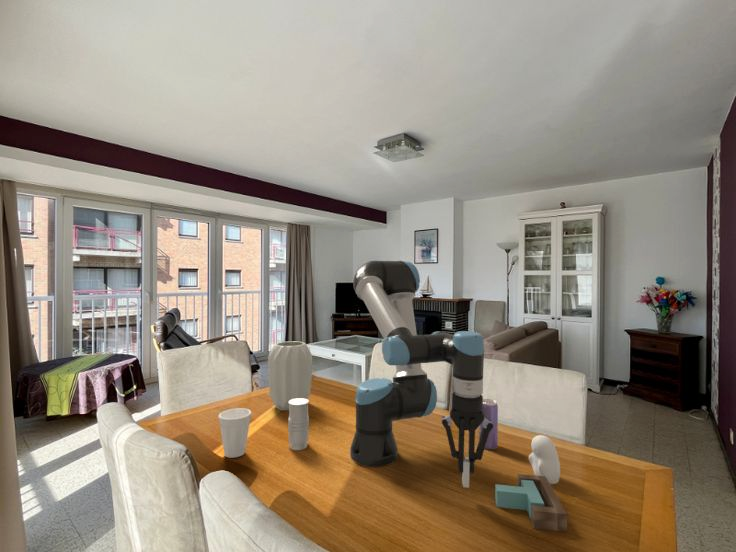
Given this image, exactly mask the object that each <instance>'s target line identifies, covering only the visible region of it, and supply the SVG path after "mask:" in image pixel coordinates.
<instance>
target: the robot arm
mask: <svg viewBox="0 0 736 552" xmlns="http://www.w3.org/2000/svg"><path fill="white" fill-rule="evenodd" d="M420 277H421V276H420V274H419V270H418V268H417V266H416V265H415V264H413V263H412V262H410V261H403V260H370V261H367V262H365V263H363V264H362V265H361V266H360V267H358V269H357V270H356V271H355V274H354V276H353V281H352V282H353V290H354V292H355V294H356V295H357V298H359V299H360V300H362V301H363V302H364V304H365V306H366V308H367V311H368V312H369V314H370V316H371V317H372V319H373V321H374V323H375V325H376V327H377V329H378V330H379V333H380V334H381V336H382V338H383V341H382V346H381V352H382V357H383V360H384V362H385V363H386V364H387V365H389V366H395V369H396V372H395V374H394V375H393V376H392V380H391V379H390V378H385V377H377V378H370V379H366V380H364V381H362V382H361V383H360V384H358V386H357V388H356V391H355V393H356V394H355V433H354V435H353V439H352V442H351V444H350V445H351V446H350V448H349V450H350V451H349V454H350V459H351V460H352V461H353V462H354V463H356V464H358V465H361V466H364V467H365V466H366V467H370V468H371V467H372V468H373V467H375V468H376V467H377V468H378V467H384V466H388V465H391V464H392V463H394V462H395V461H397V459H398V458H399V457H398V456H399V454H398V453H399V450H398V449H399V448H398V445H397V441H396V439H395V436H394V432H393V422H394V421H402V420H409V419H414V418H417V419H418V418H422V417H427V416H429V415H431V414H432V413H433V412H434V411H435V409H436V406H437V403H438V402H437V400H438V391H437V390H438V389H437V386H436V385H435V383H434V381H433V380H432V379H430V378H428V373H427V372H425V371H424V370H423V369H422V364H429V363H440V362H445V363H448V364H450V365H452V387H451V388H452V394H451V397H452V398H451V400H452V402H451V410H450V412H449V414H448V415H446V416H444V415H443V416H442V417H441V424H442V426H443V427H444V429H445V431H446V436H447V440H448V445H449V450H450V453H451V454H450V455H451V457H452V458H455V459H457V460H458V461H457V469H458V473H462V474H461V475H462V476H461V483H462V488H467V489H468V488H470V474H474V472H475V462H476V461H481V460H482V459H483V455H484V452H485V449H484V448H485V445H486V441H487V438H488V434H489V432H490V431H491V430H492V428H493V424H492V421H491V420H487V419H486V418H485V417H484V414H483V399H484V396H483V393H484V392H483V391H484V365H485V364H484V363H485V362H484V360H485V359H484V358H485V357H484V356H485V345H484V344H485V341H484V336H483V335H482V334H481V333H480V332H476V331H468V330H467V331H466V330H465V331H464V330H461V331H456V332H455V333H454V334H452V333H451V334H450V333H448V332H446V331H434V332H431V334H418V333H417V328H416V327H417V326H416V321H415V313H414V306H413V300H414V298H416V293H417V292H418V290H419V289H420V283H421V278H420ZM452 422H453V423H454V425H455V426H456V427H457V429H458V440H457V441H458V444H457V445H458V446H457V447H458V450H456V446H455V441H454V437H453V432H452V428H451V426H452ZM482 422H483V424H482V425H483V428H482V432H481V435H480V439H479V438H478V443H477V446H476V445H475V444H476V443H475V442H476V440H475V439H476V438H475V437H476V430H477V429H479V425H480V424H481V423H482ZM465 431H468V452H467V453H468V455H467V456H465V433H466V432H465ZM475 446H476V449H475Z"/></svg>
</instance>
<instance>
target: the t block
mask: <svg viewBox="0 0 736 552" xmlns="http://www.w3.org/2000/svg"><path fill="white" fill-rule="evenodd" d="M494 485H495V486H494V487H495V488H494V490H495V491H494V496H495V497H494V499H495V500H494V501H495V505H496V507H497V508H503V509H513V510H523V511H527V514H528V515H529V518H530V520H532V506H542V507H545V505H544V502H543V500H542V498H541V496H540V494H539V492H538V490H537V488H536V486H535V484H534V482H533V481H530V480H521V487H519V486H518V485H508V484H507V485H506V484H498V483H497V484H494Z"/></svg>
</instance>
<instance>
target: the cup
mask: <svg viewBox="0 0 736 552" xmlns="http://www.w3.org/2000/svg"><path fill="white" fill-rule="evenodd" d="M217 418H218V423H219V428H220V429H219V430H220V433H221V440H222V446H223V447H222V448H223V454H224V457H226V458H231V459H233V458H238V457H241V456H244V455H245V454H246V449H247V444H248V443H247V441H248V435H249V427H250V422H251V418H252V411H251V410H250V409H248V408H245V407H244V408H243V407H241V408H240V407H238V408H230V409H229V408H228V409H227V410H223V411H222V412H220V413H219V414H218V416H217Z"/></svg>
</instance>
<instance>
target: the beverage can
mask: <svg viewBox="0 0 736 552" xmlns="http://www.w3.org/2000/svg"><path fill="white" fill-rule="evenodd" d="M498 406H499V405H498V402H497V400H493V399H489V398H483V414H484V417H485V418H486V419H487V420H491V421H492V424H493V428H492V430H491V431H490V432H489V434H488V438H487V441H486V445H485V448H484V450H491V451H492V450H496V449H497V448H498V446H499V445H498V444H499V443H498V442H499V440H498V439H499V438H498V433H499V431H498V430H499V428H498V426H499V423H498V421H499V419H498V418H499V415H498V414H499V413H498V409H499V407H498ZM482 424H483V422H482V423H481V424H480V425H479V427H478V440H479V439H480V435H481V432H482V428H483V425H482Z"/></svg>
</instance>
